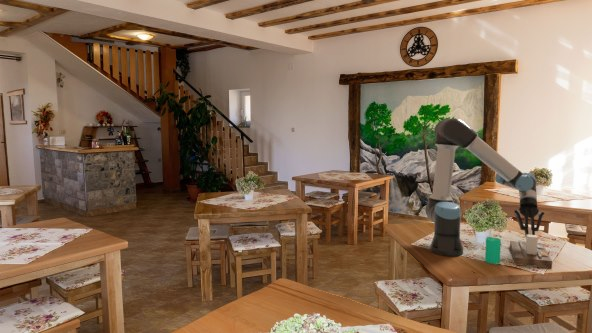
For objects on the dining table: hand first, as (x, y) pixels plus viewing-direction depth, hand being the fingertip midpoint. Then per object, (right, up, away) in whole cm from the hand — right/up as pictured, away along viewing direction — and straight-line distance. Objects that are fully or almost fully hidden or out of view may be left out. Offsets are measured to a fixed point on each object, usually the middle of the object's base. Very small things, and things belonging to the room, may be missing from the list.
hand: (530, 242), depth 190 cm
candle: (-19, -8, -4) cm, 21 cm away
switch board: (+1, -7, +3) cm, 7 cm away
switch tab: (-2, -4, -3) cm, 5 cm away
